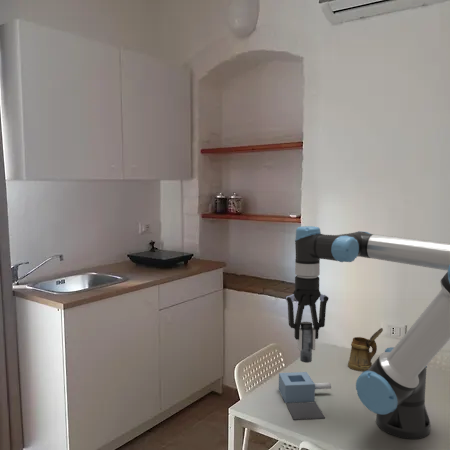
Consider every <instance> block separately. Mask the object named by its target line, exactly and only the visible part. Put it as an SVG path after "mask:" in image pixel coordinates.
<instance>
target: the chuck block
mask: <svg viewBox="0 0 450 450" xmlns="http://www.w3.org/2000/svg"><path fill="white" fill-rule="evenodd" d="M331 388H332V383H331V382H314V381H313V379H312V377H311V376H310V375H309V373H308V372H307V371H298V372H296V371H295V372H279V373H278V391H279V393H280V395H281V398H282V399H283V401H284V403H285V404H286V403H303V402H316V401H315V399H316V397H315V395H316V390H328V389H331ZM331 390H332V389H331Z"/></svg>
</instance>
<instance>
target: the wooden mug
mask: <svg viewBox="0 0 450 450" xmlns="http://www.w3.org/2000/svg"><path fill="white" fill-rule="evenodd" d="M383 332H384V329H383V327H380V328H379V329H378V330H377V331H375V332H374V333H373V334H372V335H371V336H370V338H369V339H368V338H366V337H363V336H362V337H361V336H357V337H353V338H352V341H351V344H350V345H351V347H350V354H349V360H348V362H347V363H348V364H347V366H348V368H349V369H351V370H354V371H357V372H364V371H367V370H368V369H369V368H370V367H371V366H372V365H373V363H372V359H373V358H374V356H375V355H376V353H377V351H378V349H377V347H378V346H377V342H376V341H375V340H376V339H377V338H379V336H380V335H381V334H382V333H383ZM370 349H371V351H370Z"/></svg>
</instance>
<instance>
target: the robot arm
mask: <svg viewBox="0 0 450 450" xmlns="http://www.w3.org/2000/svg"><path fill="white" fill-rule="evenodd" d="M294 242H295V243H294V244H295V247H294V248H295V259H294V260H295V265H294V266H295V267H294V275H295V276H294V290H293V292H292V294H290V295H286V296H285V300H286V303H287V316H288V317H287V319H288V320H287V321H288V325H289V327H290V328H291V329H293V330H294V334H293V335H294V338H295V340H297V341H296V343H297V345H296V346H297V347H296V348H297V350H298V351H299V352H300V351H302V330H301V322H302V319H303V313H304V310H305V307H307V306H309V311H310V315H311V323H312V351H316V340H318V339H319V330H320V329H321V328H324V327H325V324H326V311H327V304H328V302H329V296H328V295H326V294H323V293H321V291H320V277H319V276H320V271H321V270H320V265H321V263H320V261H321V260H328V261H333V262H334V261H336V262H339V263H352V262H355V259H357V257H360V258H367V259H374V260H380V261H387V262H392V263H397V264H398V263H400V264H403V265H411V266H416V267H423V268H429V269H435V270H442V271H446V273H445V274H444V276H443V277H442V278H441V279H440V287H441V290H440V291H439V292H438V293H437V295H436V296H435V297H434V299H432V301H430V303H429V305H427V307H426V308H425V309H424V310H423V312H422V313H421V314H420V315H419V316H418V318H417V319H416V320H415V322H413V324H412V325H411V326H410V327H409V329H408V330H407V331H406V333H405V334H403V336H402V337H401V338H400V340H399V341H398V342H397V343H396V345H395V346H391V347H387V348H385V349H384V351H383V352H382V353H380V355H379V356H378V357H377V358H376V360H375V361H374V362H373V363H372V366H371V367H370V368H369V369H368V370H367V371H361V373H360V375H359V376H358V377H357V379H356V381H355V390H356V392H357V396H358V399H359V400H360V403H362V405H363V406H364V407H365V408H366V409H368V410H369V411H370V412H372V413H374V414H375V416H376V417H375V418H376V419H375V422H376V424H377V426H378V427H379V428H380V429H381V430H382V431H384V432H386V433H387V434H390V435H392V436H395V437H397V438H402V439H407V440H408V439H411V440H413V439H414V440H417V439H422V438H425V437H427V436H428V435H429V434H430V433H431V421H430V416H429V415H428V411H427V407H426V402H425V401H426V387H427V386H426V383H427V382H426V380H427V368H428V365H429V364H430V362H432V360H433V359H434V358H435V356H436V355H438V353H439V352H441V350H442V349H443V348H444V347H445V346H446V344H447V343H449V341H450V242H441V241H434V240H425V239H416V238H410V237H403V236H402V237H400V236H392V235H384V234H375V233H370V232H368V231H360V230H359V231H355V232H349V233H341V234H324V233H322V232H321V228H320V227H319V226H313V225H307V226H306V225H305V226H298V227H297V228H296V230H295V239H294ZM295 300H296V301H297V310H296V314H295V315H294V302H295ZM318 300H319V301H320V302H319V311H318V312H319V314H317V306H316V303H317V302H318ZM294 316H295V317H294ZM294 318H295V319H294Z"/></svg>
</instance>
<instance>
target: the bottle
mask: <svg viewBox="0 0 450 450" xmlns="http://www.w3.org/2000/svg"><path fill="white" fill-rule="evenodd" d="M312 327H313V322H312V321H311V322H309V321H301V325H300V328H301V330H302V351H299V353H300V354H299V357H300V358H299V361H300V362H302V363H306V364H308V363H312V361H313V350H312Z"/></svg>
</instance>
